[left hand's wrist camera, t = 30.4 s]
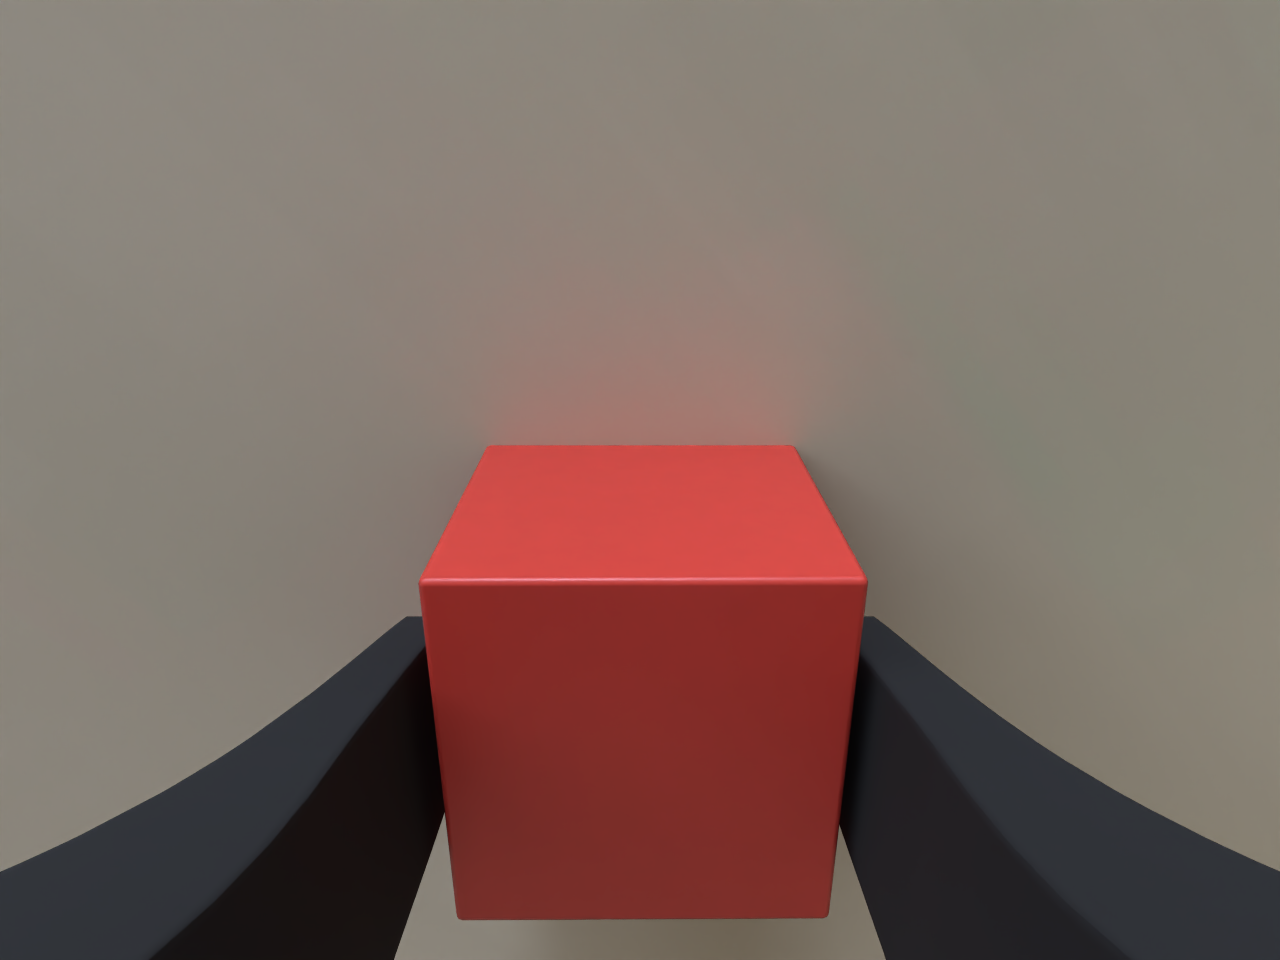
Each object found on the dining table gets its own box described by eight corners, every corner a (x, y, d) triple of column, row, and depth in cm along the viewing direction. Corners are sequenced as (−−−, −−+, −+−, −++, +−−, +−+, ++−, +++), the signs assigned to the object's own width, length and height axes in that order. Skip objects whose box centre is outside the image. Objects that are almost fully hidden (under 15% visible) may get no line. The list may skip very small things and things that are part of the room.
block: (774, 703, 15) (829, 921, 10) (506, 704, 15) (455, 923, 10) (793, 440, 13) (871, 579, 9) (487, 441, 13) (415, 580, 9)
